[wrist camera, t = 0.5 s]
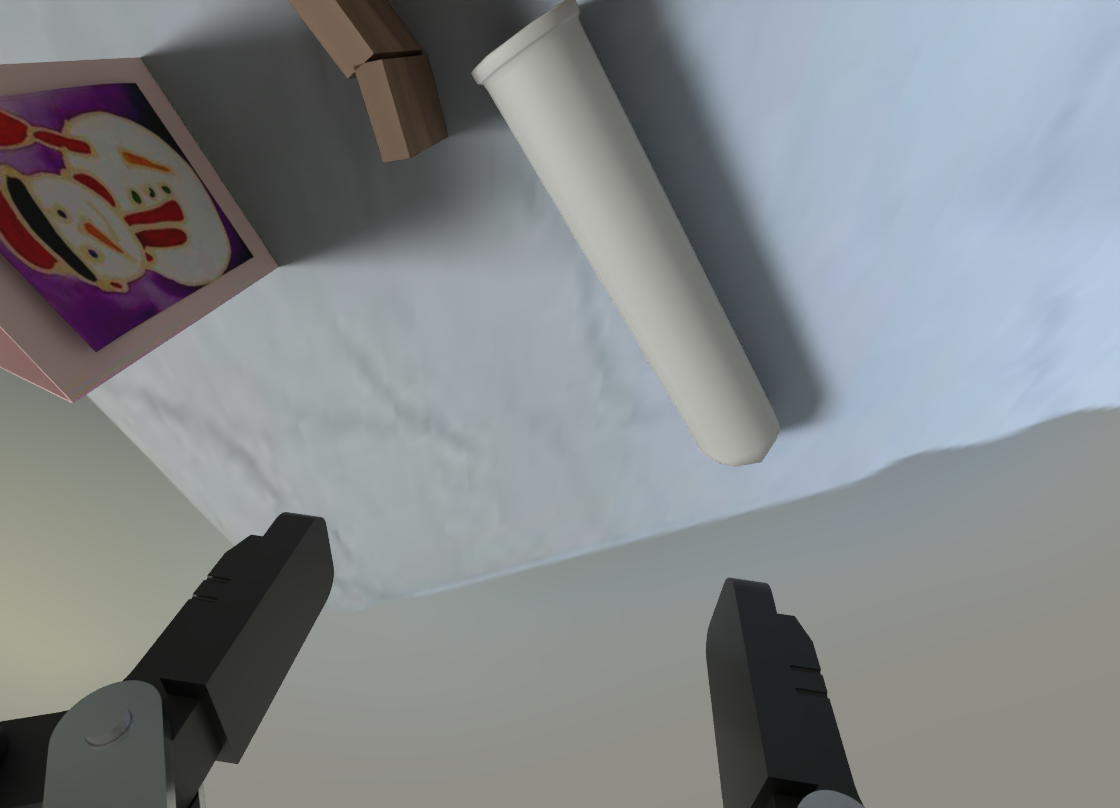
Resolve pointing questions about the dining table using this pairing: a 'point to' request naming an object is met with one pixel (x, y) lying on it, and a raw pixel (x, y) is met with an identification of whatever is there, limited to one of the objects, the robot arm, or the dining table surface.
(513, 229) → the dining table surface
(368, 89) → the socket block
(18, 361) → the greeting card
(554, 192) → the tube
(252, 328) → the dining table surface
